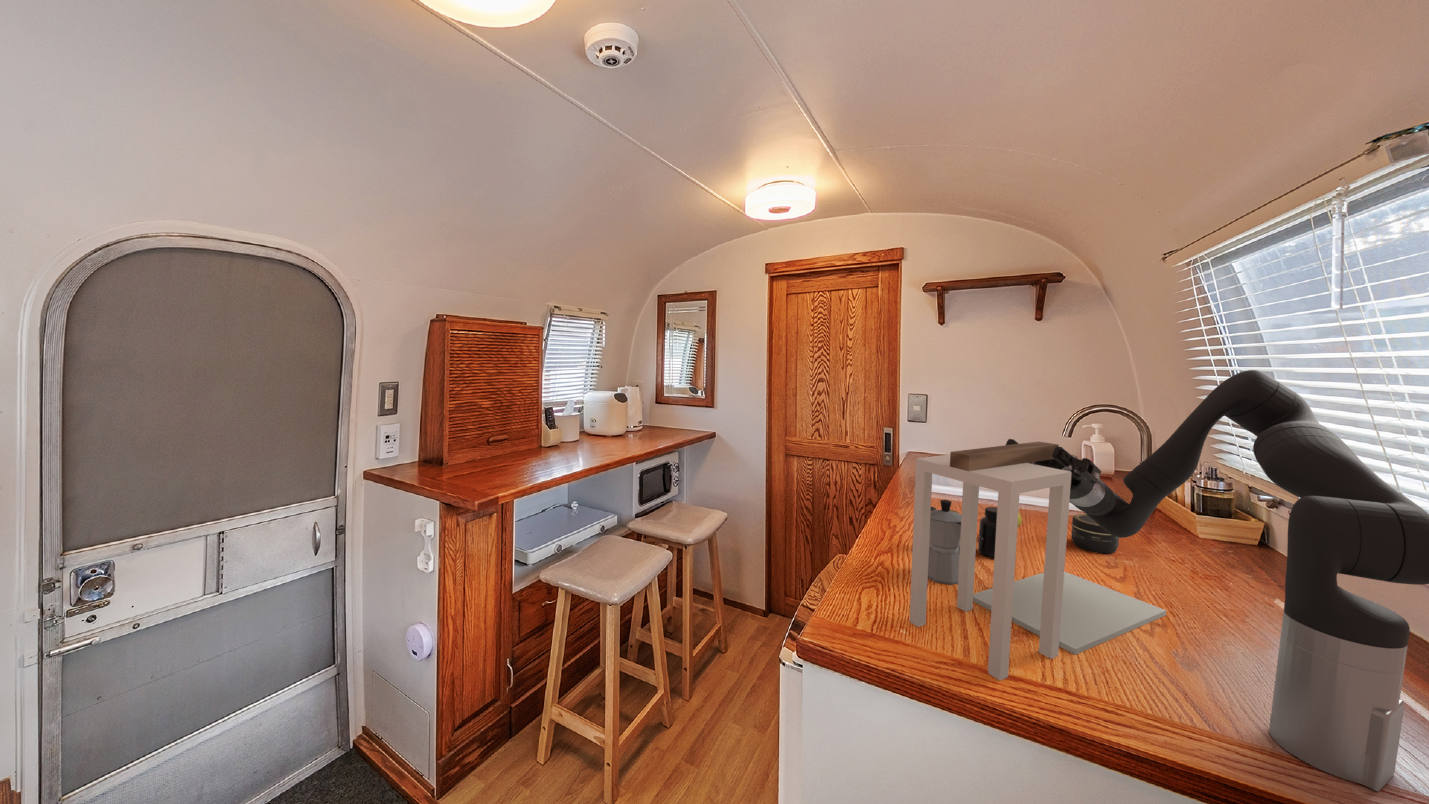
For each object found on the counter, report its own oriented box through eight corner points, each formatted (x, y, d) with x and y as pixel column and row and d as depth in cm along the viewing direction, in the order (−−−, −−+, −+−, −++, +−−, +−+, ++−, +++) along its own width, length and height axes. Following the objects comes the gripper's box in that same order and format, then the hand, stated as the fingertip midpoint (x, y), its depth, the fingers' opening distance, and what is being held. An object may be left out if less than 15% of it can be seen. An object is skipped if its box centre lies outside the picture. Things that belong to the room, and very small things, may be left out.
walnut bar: (1057, 458, 86) (1058, 444, 86) (968, 471, 77) (969, 455, 76) (1037, 454, 90) (1038, 441, 89) (949, 466, 80) (950, 451, 80)
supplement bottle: (971, 551, 122) (974, 507, 120) (989, 547, 124) (991, 503, 123) (997, 562, 115) (1000, 515, 114) (1014, 557, 118) (1017, 511, 117)
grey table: (1058, 655, 79) (1071, 471, 76) (999, 680, 73) (1011, 481, 70) (963, 604, 95) (971, 451, 92) (909, 621, 89) (916, 458, 86)
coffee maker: (980, 584, 104) (984, 506, 102) (951, 592, 101) (955, 511, 99) (927, 558, 118) (930, 488, 116) (900, 563, 115) (903, 492, 113)
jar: (1113, 544, 126) (1116, 517, 125) (1122, 558, 118) (1125, 529, 117) (1067, 537, 131) (1069, 511, 131) (1073, 550, 123) (1075, 522, 122)
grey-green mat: (1165, 615, 92) (1166, 610, 91) (1075, 654, 79) (1075, 649, 79) (1056, 572, 110) (1057, 568, 110) (969, 599, 98) (969, 594, 98)
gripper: (1043, 457, 99) (1001, 424, 93) (1123, 472, 86) (1082, 434, 80) (1029, 489, 98) (987, 457, 92) (1109, 509, 85) (1066, 474, 79)
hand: (1031, 447), depth 86 cm, fingers open, 8 cm apart
